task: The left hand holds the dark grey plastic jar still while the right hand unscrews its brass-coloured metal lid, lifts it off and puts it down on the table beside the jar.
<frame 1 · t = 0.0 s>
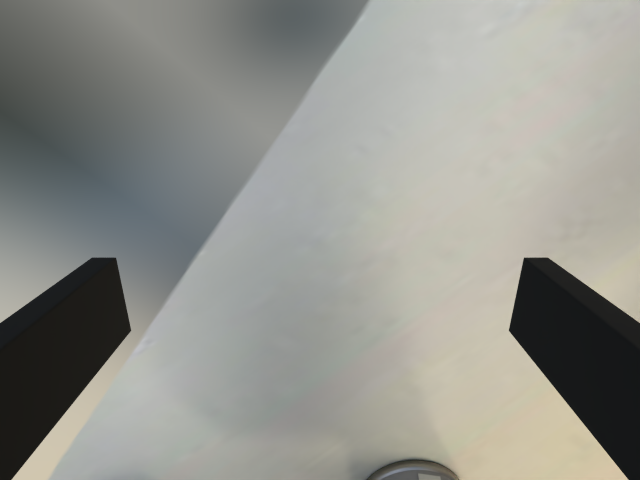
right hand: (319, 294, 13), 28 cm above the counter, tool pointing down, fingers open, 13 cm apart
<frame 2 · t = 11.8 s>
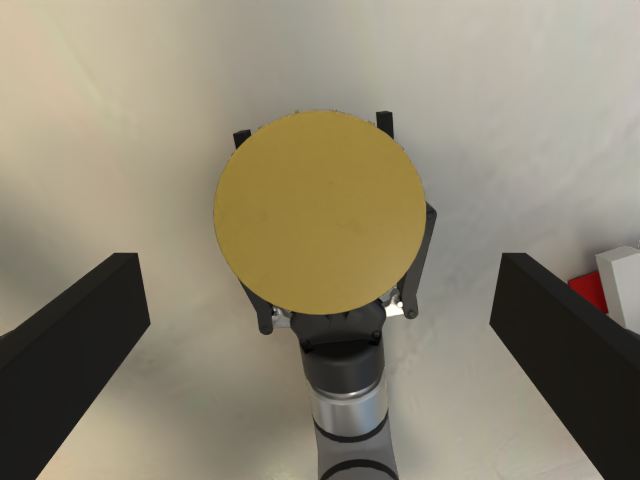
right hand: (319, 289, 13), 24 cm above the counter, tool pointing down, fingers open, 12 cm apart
toy: (620, 350, 42), on the counter
lid: (319, 221, 20), point 16 cm above the counter, screwed on, not yet turned
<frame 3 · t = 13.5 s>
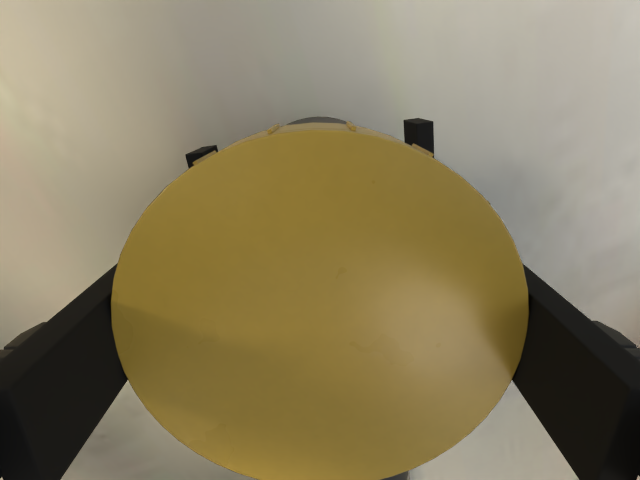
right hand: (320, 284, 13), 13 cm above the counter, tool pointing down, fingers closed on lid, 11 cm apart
lid: (319, 335, 10), point 16 cm above the counter, screwed on, not yet turned, touching right hand
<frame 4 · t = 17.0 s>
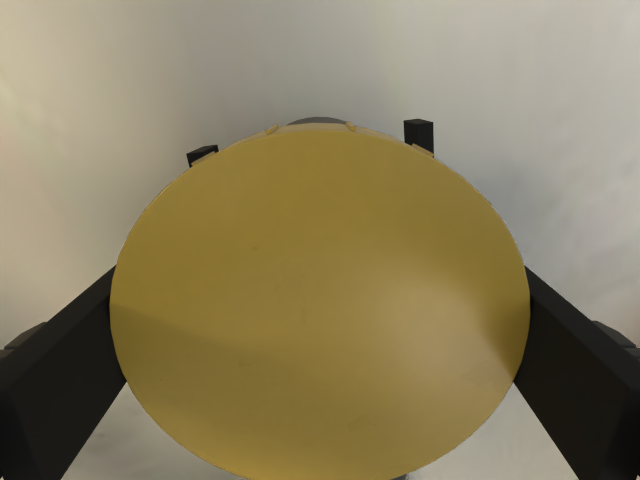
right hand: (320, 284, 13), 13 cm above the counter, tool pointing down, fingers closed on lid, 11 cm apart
lid: (319, 337, 10), point 16 cm above the counter, turned 120° so far, risen 0.1 cm, still on its thread, touching right hand
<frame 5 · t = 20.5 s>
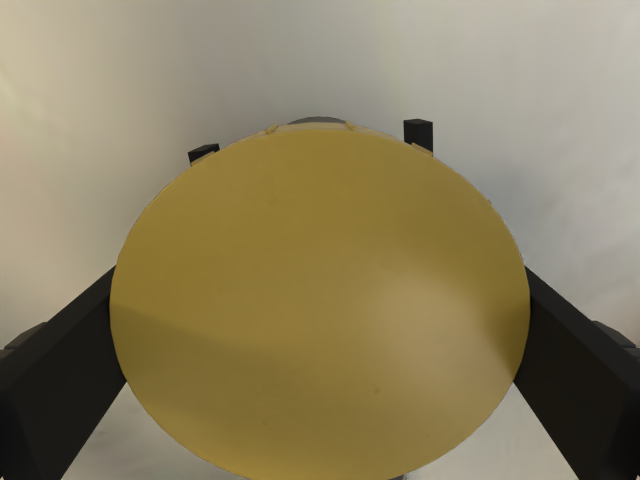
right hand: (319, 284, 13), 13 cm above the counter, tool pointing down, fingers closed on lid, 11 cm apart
lid: (319, 336, 10), point 16 cm above the counter, turned 241° so far, risen 0.3 cm, still on its thread, touching right hand
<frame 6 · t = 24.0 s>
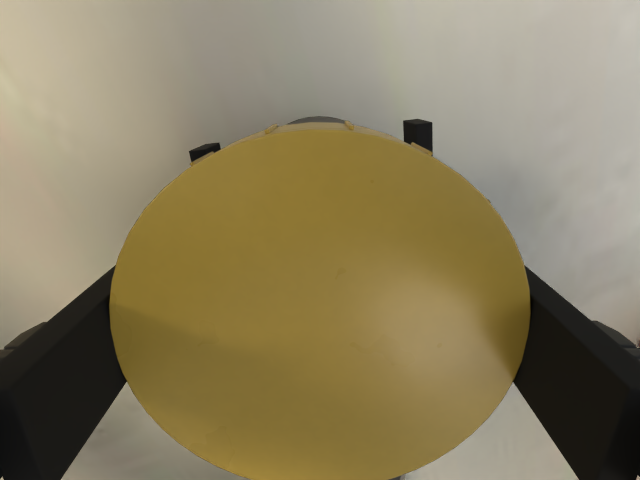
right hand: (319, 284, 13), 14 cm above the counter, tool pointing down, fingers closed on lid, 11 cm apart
lid: (319, 336, 10), point 17 cm above the counter, turned 361° so far, risen 0.5 cm, still on its thread, touching right hand
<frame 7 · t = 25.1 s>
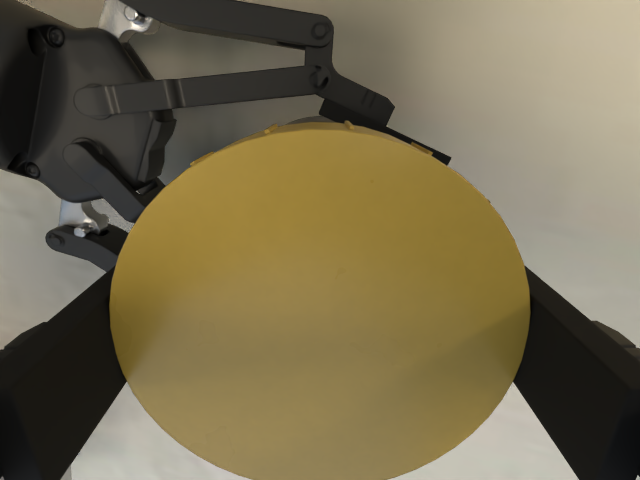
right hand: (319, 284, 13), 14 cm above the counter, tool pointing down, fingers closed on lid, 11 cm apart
left hand: (391, 247, 21), fingers closed on jar, 10 cm apart
lid: (319, 336, 10), point 17 cm above the counter, off its thread, touching right hand
when the right hand's fingers open (1 cm above the counter, at t = 30.8 s): lid drops 2 cm, point 2 cm above the counter.
when the left hand's fingers open (6 cm above the counter, at t = 31.9 s): jar stays where it is, on the counter.
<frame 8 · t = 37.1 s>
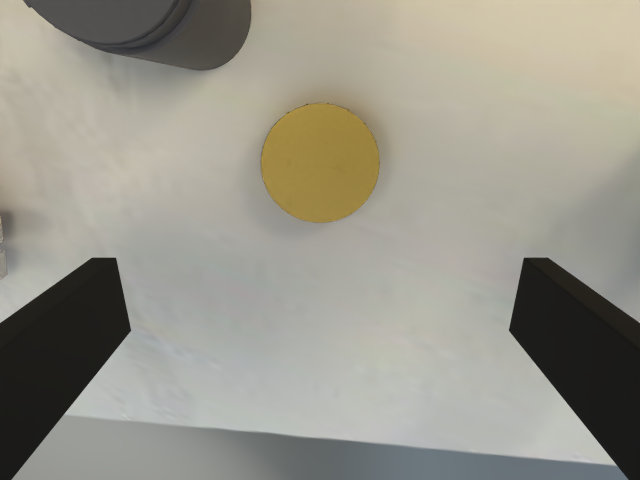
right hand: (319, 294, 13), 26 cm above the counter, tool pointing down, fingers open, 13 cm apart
jar: (194, 8, 33), on the counter
lid: (320, 165, 35), point 2 cm above the counter, off its thread
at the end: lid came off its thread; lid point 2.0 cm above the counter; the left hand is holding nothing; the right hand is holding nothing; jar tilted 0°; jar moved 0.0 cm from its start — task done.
